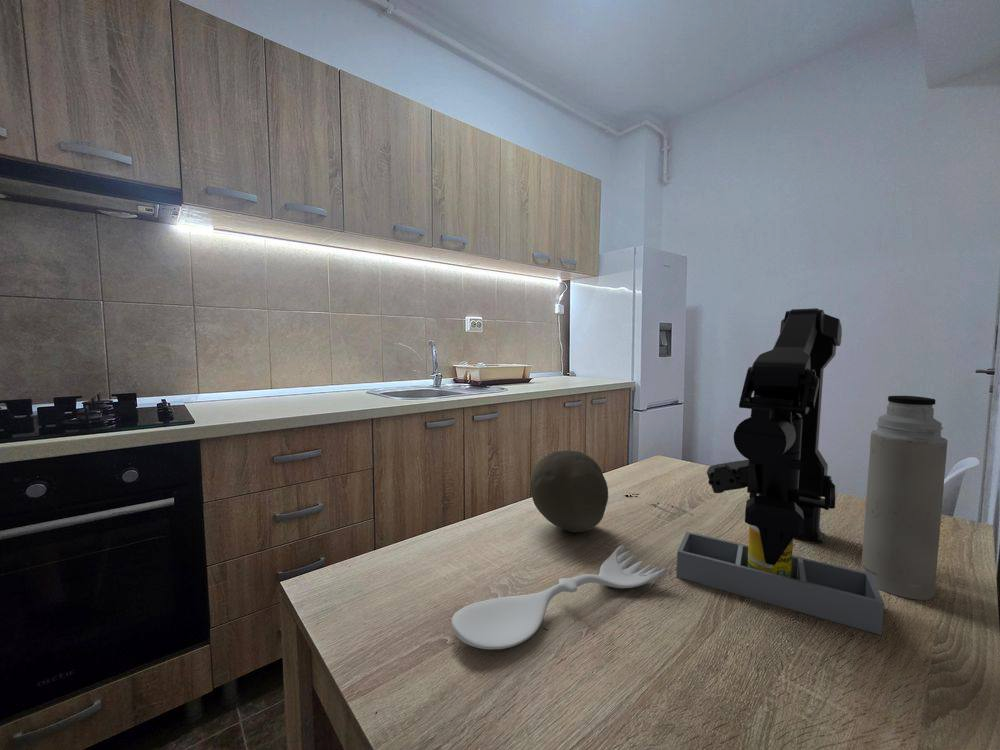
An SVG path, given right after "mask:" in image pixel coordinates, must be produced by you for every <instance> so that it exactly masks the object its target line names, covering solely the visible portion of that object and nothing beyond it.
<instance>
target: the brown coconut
mask: <svg viewBox="0 0 1000 750" xmlns="http://www.w3.org/2000/svg"><path fill="white" fill-rule="evenodd" d="M529 490H530V494H531V498H532V501H533V504H534V506H535V508H536V509H537V511H538V512H539V513H540V514H541V515H542V517H543V518H545V520H547V521H548V522H549V523H551V524H552V525H554V526H555V527H557V528H559V529H562V530H565V531H568V532H573V533H583V532H587V531H590V530H591V529H593V528H595V527H597V525H598V524H600V523H601V521H602V519H603V518H604V515H605V511H606V509H607V505H608V501H609V488H608V483H607V481H606V478H605V476H604V474H603V472H602V469H601V467H600V465H599V464H598V463H597V462H596V461H595V459H593V458H592V457H590V456H589V455H587V454H585V453H583V452H581V451H578V450H577V451H576V450H559V451H552V452H550V453H548V454H547V455H545V456H543V458H540V460H539V461H538V462H537V463H536V465H535V467H534V468H533V470H532V472H531V475H530V479H529Z"/></svg>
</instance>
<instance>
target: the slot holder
mask: <svg viewBox="0 0 1000 750" xmlns="http://www.w3.org/2000/svg"><path fill="white" fill-rule="evenodd" d="M748 546H749V544H743V543H740V542H735V541H731V540H725V539H721V538H717V537H712V536H709V535H708V536H707V535H703V534H700V533H694V532H690V531H686V532H685V534H684V536H683V538H682V540H681V543H680V545H679V548H678V549H677V550H676V551H677V554H676V555H677V557H676V578H679V579H681V580H682V579H683V580H685V581H689V582H693V583H697V584H701V585H702V586H703V585H704V586H707V587H710V588H714V589H718V590H722V591H725V592H727V593H732V594H734V595H738V596H741V597H746V598H750V599H753V600H756V601H758V602H759V601H760V602H763V603H768V604H770V605H773V606H778V607H781V608H785V609H788V610H791V611H794V612H795V611H796V612H799V613H803V614H805V615H810V616H813V617H816V618H820V619H823V620H827V621H829V622H830V621H831V622H833V623H838V624H841V625H844V626H848V627H852V628H854V629H859V630H862V631H865V632H869V633H873V634H876V635H880V636H883V635H882V634H883V623H884V622H883V621H884V612H885V611H884V610H885V608H884V607H885V603H884V600H883V598H882V595H881V592H879V588H877V587H876V584H875V582H874V580H873V578H872V575H871V573H867V572H863V571H861V570H858V569H853V568H850V567H849V568H848V567H845V566H840V565H837V564H832V563H827V562H823V561H818V560H815V559H814V560H813V559H809V558H805V557H800V556H796V555H792V568H791V577H790V578H789V577H785V576H781V575H777V574H773V573H769V572H765V571H761V570H757V569H753V568H749V567H748Z"/></svg>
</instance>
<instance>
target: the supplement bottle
mask: <svg viewBox="0 0 1000 750" xmlns="http://www.w3.org/2000/svg"><path fill="white" fill-rule="evenodd" d="M748 526H749V529H748V567H749V568H753V569H757V570H761V571H765V572H769V573H773V574H777V575H781V576H785V577H789V578H790V577H791V568H792V556H793V549H794V538H793V539H792V541H791V542H790V543H789V545H788V546H787V548H786V549H785V551H784V552H783V554H782V555H781V557H780V558H779V560H778V561H777V563H776V564H775V565H770V564H767V563H766V562H765V558H764V553H763V547H762V542H761V537H760V532H759V529H758V528H757V527H756V526H753V525H749V524H748Z"/></svg>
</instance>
